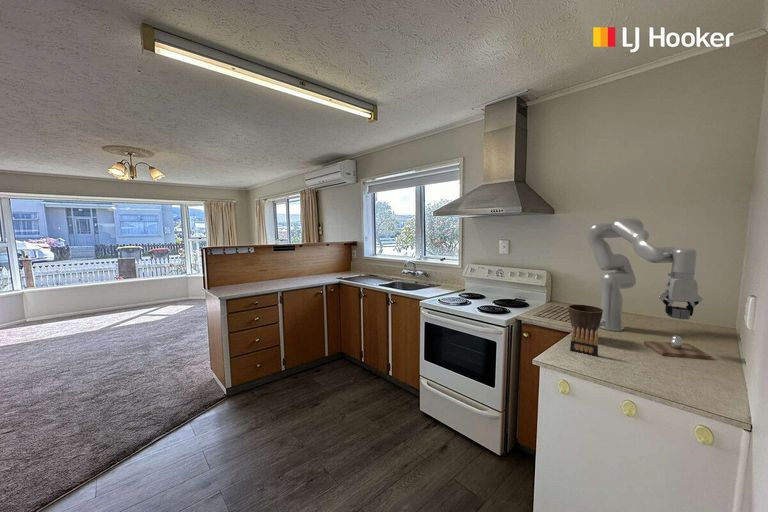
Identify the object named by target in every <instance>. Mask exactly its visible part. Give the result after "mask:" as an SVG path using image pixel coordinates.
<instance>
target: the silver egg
mask: <svg viewBox="0 0 768 512" xmlns="http://www.w3.org/2000/svg"><path fill="white" fill-rule="evenodd" d="M670 343H671V348H673V349H678V350H680V349H681V347H682V343H683V339H682V337H680V336H679V335H672V336H671V339H670Z"/></svg>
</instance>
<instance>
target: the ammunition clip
mask: <svg viewBox="0 0 768 512" xmlns="http://www.w3.org/2000/svg"><path fill="white" fill-rule="evenodd" d="M571 328H572V327H571ZM598 332H599V331H598V330H596V332H595V336H594V338H593V330H591V332H590V338H589V331H588V328H587V329H586V334H585V341H584V328H582V330H581V336H580V331H579V327H578V328H577V332H576V337H575V327H574V326H573V328H572V329H571V336H570V345H569V346H570V347H569V352H573V353H577V352H578V353H577V354H582V353H583V354H582V355H586V354H587V356H591V355H592V356H591V357H595V356H596V358H598V356H599V333H598Z"/></svg>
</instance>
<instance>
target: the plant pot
mask: <svg viewBox="0 0 768 512" xmlns="http://www.w3.org/2000/svg"><path fill="white" fill-rule="evenodd" d="M602 313H603V310H602V309H601V307H597V306H593V305H586V304H571V305H568V316H569V320H570V325H571V328H573V326H574V327H575V338H576V332H577V328H578V327H579V331H580V336H581V330H582V328H584V340H585V334H586V329H587V328H588V331H589V338H590V332H591V330H593V338H594V337H595V332H596V330H597V331H598V329H599V328H600V327H599V324H600V321H601V318H602Z"/></svg>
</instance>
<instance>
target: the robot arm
mask: <svg viewBox="0 0 768 512" xmlns="http://www.w3.org/2000/svg"><path fill="white" fill-rule="evenodd" d="M586 237H587V241H588V243H589V244H588V245H590V247H591V249H592V253H593V255H594V258H595V262H596V263H597V267H598V268H599V269H600V270H601V271H604V272H606V273H604V274H602V276H601V277H600V281H599V282H600V287H601V297H600V299H601V302H600V303H601V304H600V308H601V309H602V310H603V313H602V318H601V321H600V324H599V327H598V328H600V329H603V330H606V331H612V332H620V331H621V332H623V331H624V330H625V327H624V326H623V325H622V313H623V295H622V292H621V290H624V289H625V290H627V289H631V288H633V287H634V286H635V285H636V283H637V278H636V275H635V272H634V270H633V267H632V264H631V263H630V260H629V258H628V257H627V256H625V255H624V254H622V253H613V251H612V249H611V246H610V244H609V243H608V242H607V241H606V240H605V239H614V238H615V239H617V238H623V239H624V240H626V241H627V242H628V243H630V244H631V245H632V248H633V250H634V253H636V254H637V255H638V256H639V257H641V258H642V259H644V260H645V261H647V262H649V263H652V264H670V263H671V271H670V272H668V273H667V277H669V278H668V280H667V283H666V287H665V292H663V293H661V294H660V295H659V296H658V298H659V299H660V301H661V302H662V303H663V304H664V305H665V307H664V308H665V310H664V311H665V314H666V315H667V314H669V315H672V309H673V307H672V306H673V304H674V302H681V303H683V302H684V303H686V304H687V305H686V306H685V308H688V309H690V310H691V314H690V317H692V316H693V314H694V308H695V307H697V306H698V304H700V303H701V302H702V301H703V300H704V298H703V297H701V295H699V289H698V288H699V287H698V281H697V279H695V272H696V264H697V263H696V260H697V251H696V250H695V249H694V248H679V247H674V246H654V245H653V244H651V243H650V242H648V241H647V240H648V239H649V237H650V233H649V232H648V231H647V230H645V229H644V223H643V221H641V220H640V219H638V218H619V219H616V220H615V221H614V222H613V223H611V222H609V223H608V222H607V223H596V224H594V225H591V226H590V228H589V229H588V231H587V234H586ZM612 271H613V272H612Z"/></svg>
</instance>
